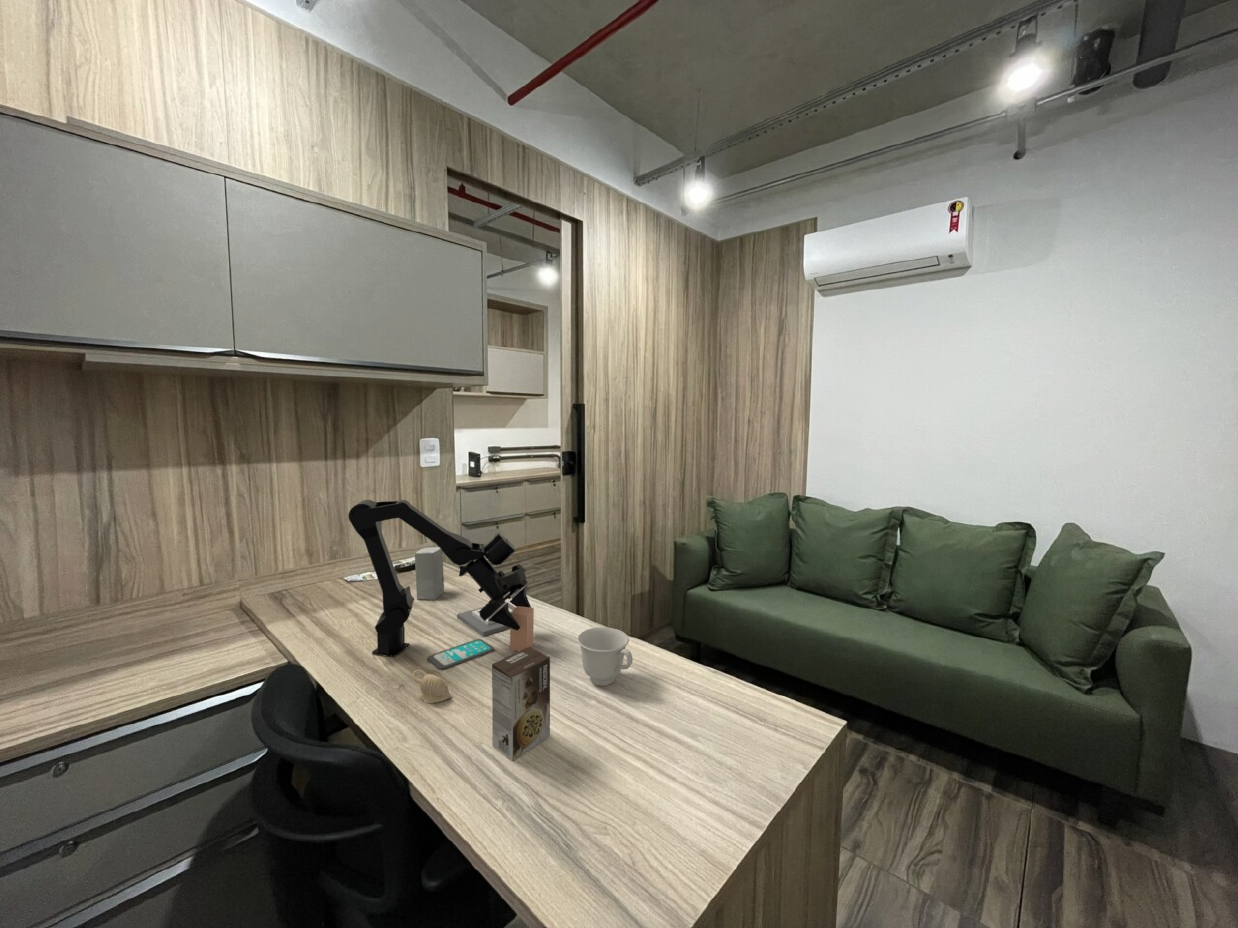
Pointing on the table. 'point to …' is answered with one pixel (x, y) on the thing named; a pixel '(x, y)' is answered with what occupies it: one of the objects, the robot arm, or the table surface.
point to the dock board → (482, 621)
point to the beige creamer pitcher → (432, 688)
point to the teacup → (604, 653)
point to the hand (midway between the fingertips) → (526, 621)
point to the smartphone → (460, 654)
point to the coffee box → (520, 702)
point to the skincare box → (429, 573)
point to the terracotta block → (522, 628)
